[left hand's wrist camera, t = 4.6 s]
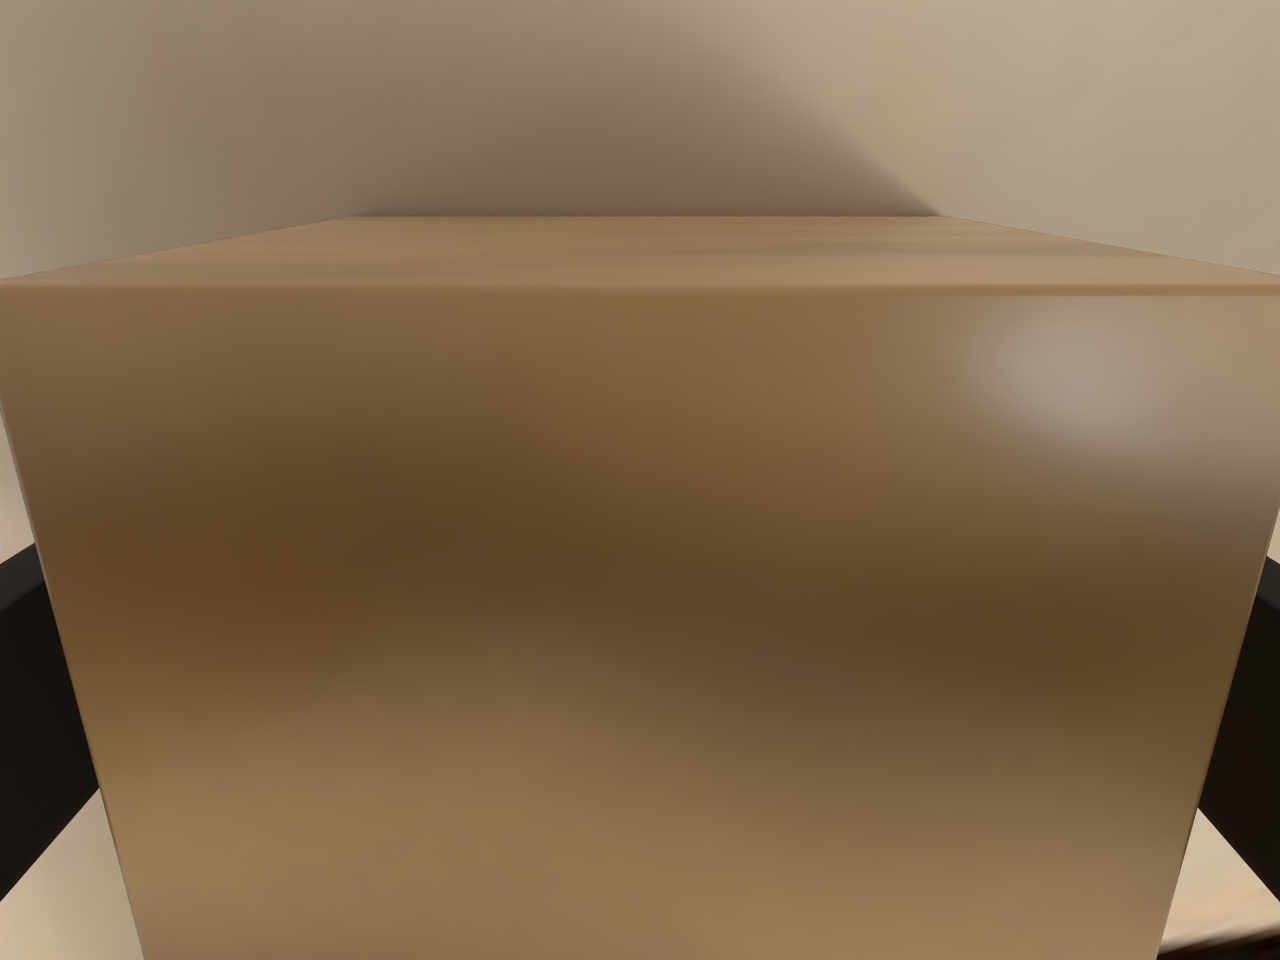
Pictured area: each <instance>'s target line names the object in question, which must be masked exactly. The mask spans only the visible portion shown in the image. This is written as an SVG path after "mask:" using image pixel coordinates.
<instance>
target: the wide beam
mask: <svg viewBox="0 0 1280 960" xmlns="http://www.w3.org/2000/svg"><path fill="white" fill-rule="evenodd" d="M0 411H1V415H2V419H3V422H4V426H5V430H6V434H7V438H8V441H9V445H10V449H11V453H12V457H13V460H14V464H15V468H16V472H17V476H18V479H19V483H20V487H21V491H22V495H23V499H24V502H25V506H26V510H27V514H28V518H29V521H30V525H31V529H32V533H33V537H34V540H35V544H36V548H37V552H38V556H39V559H40V563H41V567H42V571H43V575H44V578H45V582H46V586H47V590H48V594H49V597H50V601H51V605H52V609H53V613H54V616H55V620H56V624H57V628H58V632H59V635H60V639H61V643H62V647H63V651H64V654H65V658H66V662H67V666H68V670H69V673H70V677H71V681H72V685H73V689H74V693H75V696H76V700H77V704H78V708H79V712H80V715H81V719H82V723H83V727H84V731H85V734H86V738H87V742H88V746H89V750H90V753H91V757H92V761H93V765H94V769H95V772H96V776H97V780H98V784H99V788H100V791H101V795H102V799H103V803H104V807H105V810H106V814H107V818H108V822H109V826H110V829H111V833H112V837H113V841H114V845H115V848H116V852H117V856H118V860H119V864H120V867H121V871H122V875H123V879H124V883H125V887H126V890H127V894H128V898H129V902H130V906H131V909H132V913H133V917H134V921H135V925H136V928H137V932H138V936H139V940H140V944H141V947H142V951H143V955H144V959H145V960H1156V957H1157V954H1158V950H1159V946H1160V943H1161V939H1162V935H1163V932H1164V928H1165V924H1166V921H1167V917H1168V913H1169V910H1170V906H1171V902H1172V899H1173V895H1174V892H1175V888H1176V884H1177V881H1178V877H1179V873H1180V870H1181V866H1182V862H1183V859H1184V855H1185V851H1186V848H1187V844H1188V840H1189V837H1190V833H1191V829H1192V826H1193V822H1194V818H1195V815H1196V811H1197V807H1198V804H1199V800H1200V797H1201V793H1202V789H1203V786H1204V782H1205V778H1206V775H1207V771H1208V767H1209V764H1210V760H1211V756H1212V753H1213V749H1214V745H1215V742H1216V738H1217V734H1218V731H1219V727H1220V723H1221V720H1222V716H1223V712H1224V709H1225V705H1226V701H1227V698H1228V694H1229V691H1230V687H1231V683H1232V680H1233V676H1234V672H1235V669H1236V665H1237V661H1238V658H1239V654H1240V650H1241V647H1242V643H1243V639H1244V636H1245V632H1246V628H1247V625H1248V621H1249V617H1250V614H1251V610H1252V606H1253V603H1254V599H1255V595H1256V592H1257V588H1258V585H1259V581H1260V577H1261V574H1262V570H1263V566H1264V563H1265V559H1266V555H1267V552H1268V548H1269V544H1270V541H1271V537H1272V533H1273V530H1274V526H1275V522H1276V519H1277V515H1278V511H1279V508H1280V276H1278V275H1273V274H1267V273H1261V272H1256V271H1250V270H1245V269H1239V268H1233V267H1228V266H1222V265H1216V264H1211V263H1205V262H1200V261H1194V260H1188V259H1183V258H1177V257H1171V256H1166V255H1160V254H1155V253H1149V252H1143V251H1138V250H1132V249H1126V248H1121V247H1115V246H1110V245H1104V244H1098V243H1093V242H1087V241H1082V240H1076V239H1070V238H1065V237H1059V236H1053V235H1048V234H1042V233H1037V232H1031V231H1025V230H1020V229H1014V228H1008V227H1003V226H997V225H992V224H986V223H980V222H975V221H969V220H963V219H958V218H952V217H947V216H349V217H343V218H338V219H332V220H327V221H321V222H316V223H310V224H305V225H299V226H294V227H288V228H283V229H277V230H272V231H266V232H261V233H255V234H250V235H244V236H239V237H233V238H228V239H222V240H216V241H211V242H205V243H200V244H194V245H189V246H183V247H178V248H172V249H167V250H161V251H156V252H150V253H145V254H139V255H134V256H128V257H123V258H117V259H112V260H106V261H101V262H95V263H90V264H84V265H79V266H73V267H68V268H62V269H57V270H51V271H46V272H40V273H35V274H29V275H24V276H18V277H13V278H7V279H2V280H0Z"/></svg>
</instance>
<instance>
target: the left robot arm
mask: <svg viewBox="0 0 1280 960" xmlns="http://www.w3.org/2000/svg"><path fill="white" fill-rule="evenodd" d="M98 789H99V784H98V780H97V776H96V772H95V769H94V765H93V761H92V757H91V753H90V750H89V746H88V742H87V738H86V734H85V731H84V727H83V723H82V719H81V715H80V712H79V708H78V704H77V700H76V696H75V693H74V689H73V685H72V681H71V677H70V673H69V670H68V666H67V662H66V658H65V654H64V651H63V647H62V643H61V639H60V635H59V632H58V628H57V624H56V620H55V616H54V613H53V609H52V605H51V601H50V597H49V594H48V590H47V586H46V582H45V578H44V575H43V571H42V567H41V563H40V559H39V556H38V552H37V548H36V544H35V543H33V544H32V545H30V546H29V547H27V548H25V549H24V550H22V551H21V552H19V553H17V554H16V555H14V556H13V557H11V558H9V559H8V560H6V561H5V562H3V563H1V564H0V902H1V900H2V899H3V898H4V897H5V896H6V895H7V894H8V892H9V891H10V890H11V889H12V888H13V887H14V885H15V884H16V883H17V882H18V881H19V880H20V879H21V877H22V876H23V875H24V874H25V873H26V872H27V870H28V869H29V868H30V867H31V866H32V865H33V864H34V862H35V861H36V860H37V859H38V858H39V857H40V855H41V854H42V853H43V852H44V851H45V850H46V849H47V847H48V846H49V845H50V844H51V843H52V842H53V840H54V839H55V838H56V837H57V836H58V835H59V834H60V832H61V831H62V830H63V829H64V828H65V827H66V825H67V824H68V823H69V822H70V821H71V820H72V819H73V817H74V816H75V815H76V814H77V813H78V812H79V810H80V809H81V808H82V807H83V806H84V805H85V804H86V802H87V801H88V800H89V799H90V798H91V797H92V796H93V794H94V793H95V792H96V791H97V790H98ZM1198 808H1199V809H1200V810H1201V812H1202V813H1203V814H1204V815H1205V816H1206V817H1207V819H1208V820H1209V821H1210V822H1211V823H1212V824H1213V825H1214V827H1215V828H1216V829H1217V830H1218V831H1219V832H1220V834H1221V835H1222V836H1223V837H1224V838H1225V839H1226V840H1227V842H1228V843H1229V844H1230V845H1231V846H1232V847H1233V849H1234V850H1235V851H1236V852H1237V853H1238V854H1239V855H1240V857H1241V858H1242V859H1243V860H1244V861H1245V862H1246V863H1247V865H1248V866H1249V867H1250V868H1251V869H1252V870H1253V872H1254V873H1255V874H1256V875H1257V876H1258V877H1259V878H1260V880H1261V881H1262V882H1263V883H1264V884H1265V885H1266V887H1267V888H1268V889H1269V890H1270V891H1271V892H1272V893H1273V895H1274V896H1275V897H1276V898H1277V899H1278V900H1279V902H1280V564H1279V563H1277V562H1276V561H1274V560H1272V559H1271V558H1269V557H1268V556H1266V559H1265V563H1264V566H1263V570H1262V574H1261V577H1260V581H1259V585H1258V588H1257V592H1256V595H1255V599H1254V603H1253V606H1252V610H1251V614H1250V617H1249V621H1248V625H1247V628H1246V632H1245V636H1244V639H1243V643H1242V647H1241V650H1240V654H1239V658H1238V661H1237V665H1236V669H1235V672H1234V676H1233V680H1232V683H1231V687H1230V691H1229V694H1228V698H1227V701H1226V705H1225V709H1224V712H1223V716H1222V720H1221V723H1220V727H1219V731H1218V734H1217V738H1216V742H1215V745H1214V749H1213V753H1212V756H1211V760H1210V764H1209V767H1208V771H1207V775H1206V778H1205V782H1204V786H1203V789H1202V793H1201V797H1200V800H1199V804H1198Z"/></svg>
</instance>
